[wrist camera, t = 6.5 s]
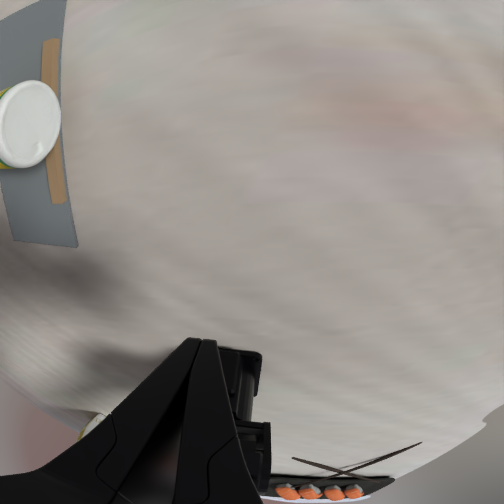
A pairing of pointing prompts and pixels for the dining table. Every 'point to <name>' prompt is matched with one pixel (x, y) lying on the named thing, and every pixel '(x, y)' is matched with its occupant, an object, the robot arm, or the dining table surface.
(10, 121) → the supplement bottle
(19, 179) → the grey flat board
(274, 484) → the sushi plate
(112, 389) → the dining table surface
